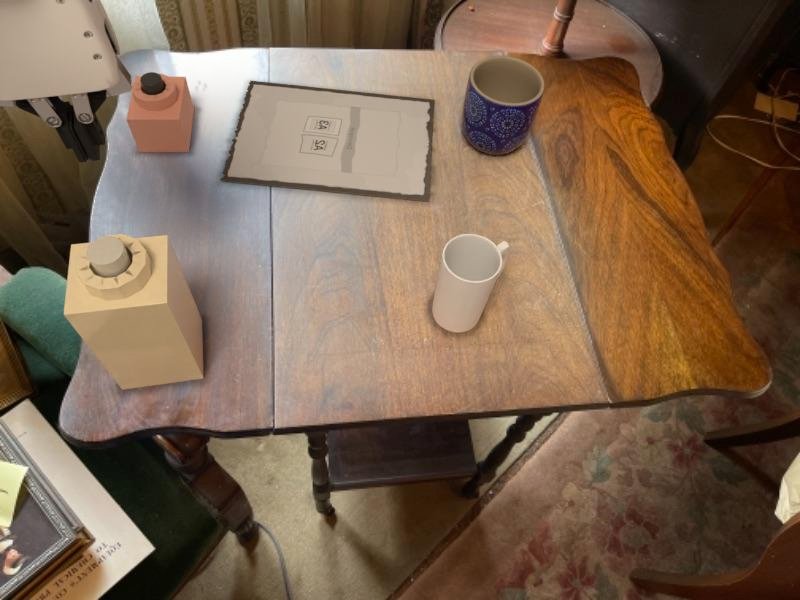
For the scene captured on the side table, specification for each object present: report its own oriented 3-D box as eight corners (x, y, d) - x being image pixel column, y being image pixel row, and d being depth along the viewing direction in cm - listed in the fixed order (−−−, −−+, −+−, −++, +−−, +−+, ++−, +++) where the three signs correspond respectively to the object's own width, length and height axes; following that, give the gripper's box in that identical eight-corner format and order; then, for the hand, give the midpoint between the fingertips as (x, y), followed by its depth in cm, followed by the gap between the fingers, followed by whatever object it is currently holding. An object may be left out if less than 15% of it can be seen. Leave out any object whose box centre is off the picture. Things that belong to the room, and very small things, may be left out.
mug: (450, 344, 75) (467, 292, 65) (419, 305, 78) (430, 249, 68) (511, 307, 79) (536, 252, 69) (479, 271, 82) (498, 213, 71)
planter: (443, 126, 96) (454, 66, 86) (500, 106, 99) (516, 47, 90) (481, 172, 91) (497, 114, 82) (539, 150, 95) (561, 92, 85)
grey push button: (92, 279, 55) (84, 266, 53) (95, 251, 57) (87, 237, 55) (129, 275, 55) (122, 262, 54) (131, 247, 57) (124, 234, 55)
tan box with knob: (122, 389, 69) (54, 303, 53) (125, 329, 73) (62, 231, 57) (203, 378, 70) (161, 291, 54) (202, 319, 75) (162, 221, 58)
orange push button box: (139, 152, 88) (122, 109, 81) (147, 110, 93) (131, 65, 86) (188, 152, 89) (176, 109, 82) (194, 110, 94) (182, 65, 87)
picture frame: (220, 181, 86) (429, 202, 87) (219, 179, 86) (429, 200, 87) (249, 81, 98) (434, 100, 99) (249, 79, 97) (434, 98, 98)
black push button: (142, 95, 84) (138, 85, 82) (145, 82, 85) (141, 71, 83) (163, 96, 84) (160, 85, 82) (165, 82, 85) (162, 72, 84)
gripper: (108, -107, 40) (176, 110, 56) (-146, -94, 38) (0, 130, 53) (109, -44, 37) (181, 169, 52) (-172, -25, 34) (-7, 194, 50)
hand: (90, 149), depth 53 cm, fingers closed
